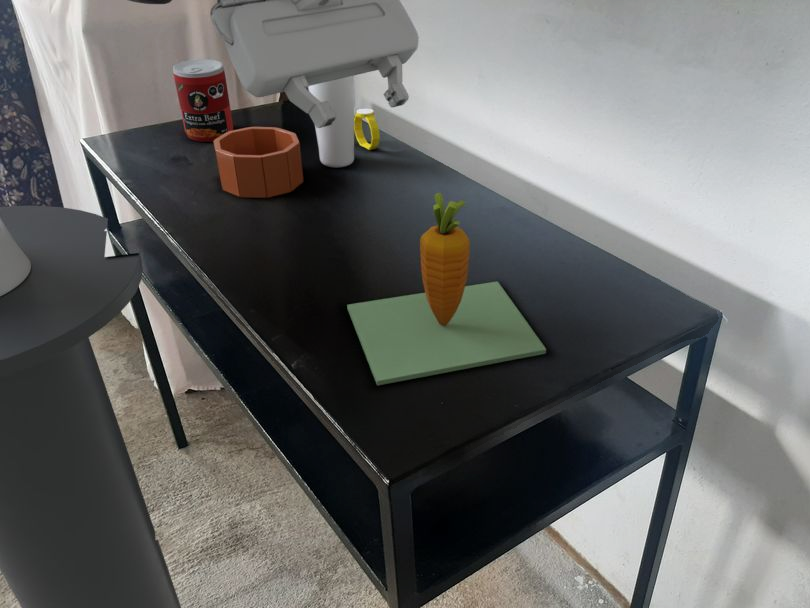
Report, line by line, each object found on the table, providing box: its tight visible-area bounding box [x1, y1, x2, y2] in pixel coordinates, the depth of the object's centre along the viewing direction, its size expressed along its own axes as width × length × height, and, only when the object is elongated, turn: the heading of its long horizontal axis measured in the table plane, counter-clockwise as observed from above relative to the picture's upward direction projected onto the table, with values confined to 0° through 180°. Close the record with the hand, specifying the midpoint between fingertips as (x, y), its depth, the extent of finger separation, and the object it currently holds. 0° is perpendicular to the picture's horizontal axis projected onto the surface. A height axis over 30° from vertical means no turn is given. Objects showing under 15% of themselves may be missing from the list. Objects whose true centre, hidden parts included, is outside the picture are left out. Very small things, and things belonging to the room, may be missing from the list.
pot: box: [213, 126, 304, 199], centre depth 106 cm, size 12×12×6 cm
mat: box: [346, 281, 547, 386], centre depth 78 cm, size 18×14×1 cm
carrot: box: [419, 192, 471, 326], centre depth 74 cm, size 5×5×15 cm
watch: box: [354, 108, 381, 151], centre depth 117 cm, size 6×3×6 cm, turn 37°
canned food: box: [172, 58, 234, 143], centre depth 118 cm, size 8×8×11 cm
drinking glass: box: [307, 75, 356, 169], centre depth 109 cm, size 7×7×15 cm
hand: (365, 113), depth 72 cm, fingers open, 8 cm apart
